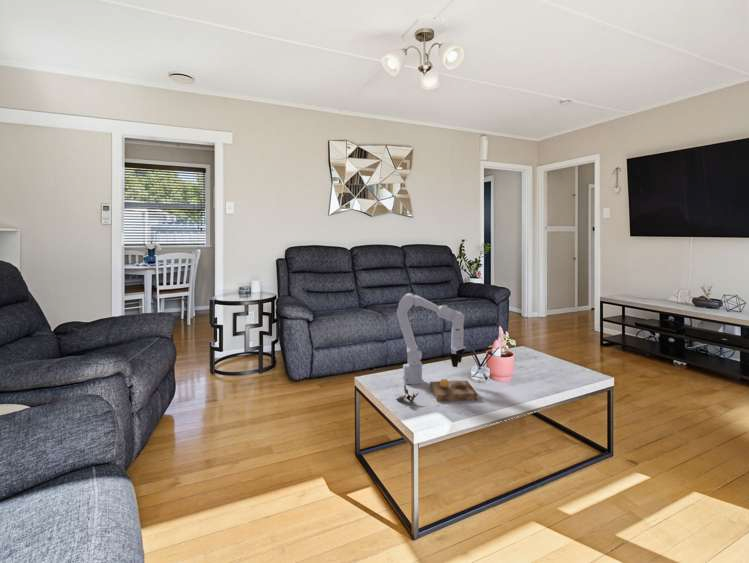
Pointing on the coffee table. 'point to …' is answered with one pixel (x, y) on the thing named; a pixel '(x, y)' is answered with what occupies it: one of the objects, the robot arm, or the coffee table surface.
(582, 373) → the coffee table surface
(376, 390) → the coffee table surface
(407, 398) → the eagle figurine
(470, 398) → the board
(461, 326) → the robot arm
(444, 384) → the ball
